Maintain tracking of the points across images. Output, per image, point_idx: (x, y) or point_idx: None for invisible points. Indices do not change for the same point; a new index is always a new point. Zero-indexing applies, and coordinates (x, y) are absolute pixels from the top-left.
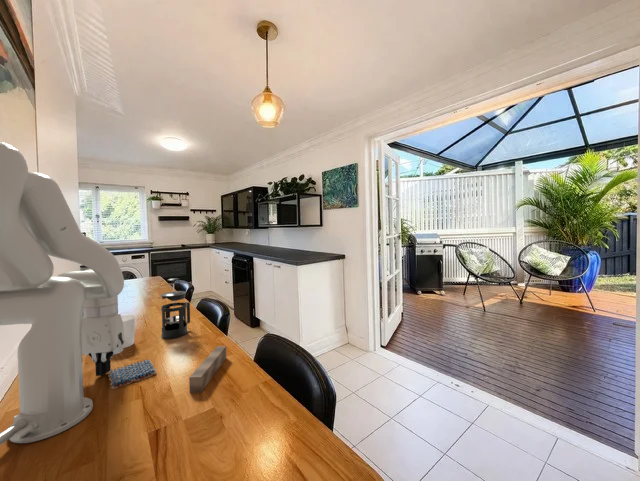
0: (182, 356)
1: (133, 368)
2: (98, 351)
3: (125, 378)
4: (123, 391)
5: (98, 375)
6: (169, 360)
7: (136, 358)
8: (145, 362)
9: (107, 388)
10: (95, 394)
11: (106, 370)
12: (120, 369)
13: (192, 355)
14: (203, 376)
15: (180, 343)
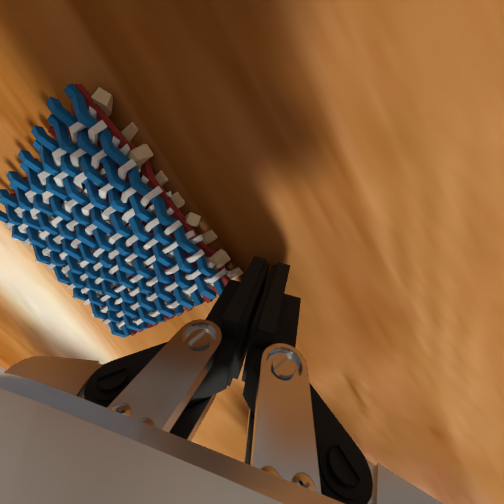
0: (50, 327)
1: (110, 268)
2: (94, 451)
3: (55, 154)
4: (21, 47)
5: (278, 266)
6: (70, 315)
7: None
8: (102, 309)
9: (142, 109)
10: (162, 27)
11: (229, 281)
12: (177, 283)
13: (23, 321)
14: None
15: None
